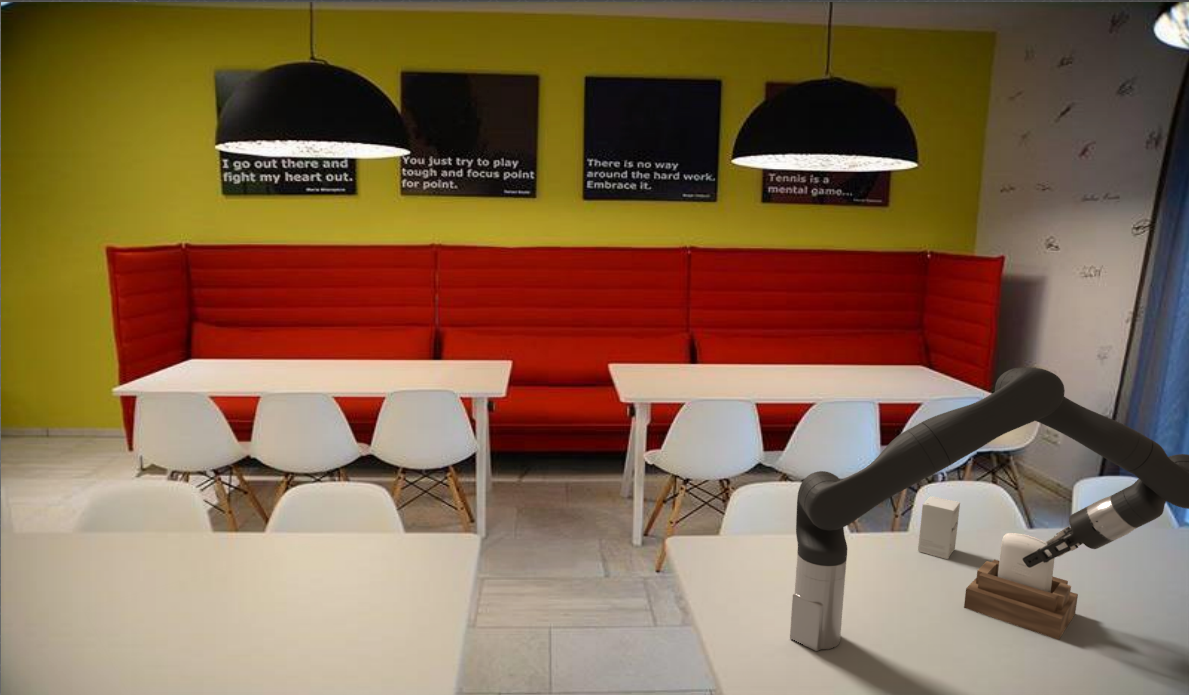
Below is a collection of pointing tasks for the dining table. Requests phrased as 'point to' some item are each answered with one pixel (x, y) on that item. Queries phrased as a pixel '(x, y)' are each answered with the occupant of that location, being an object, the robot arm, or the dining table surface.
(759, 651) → the dining table surface
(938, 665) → the dining table surface
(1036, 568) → the photo printer
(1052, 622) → the wooden holder
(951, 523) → the supplement box
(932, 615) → the dining table surface
